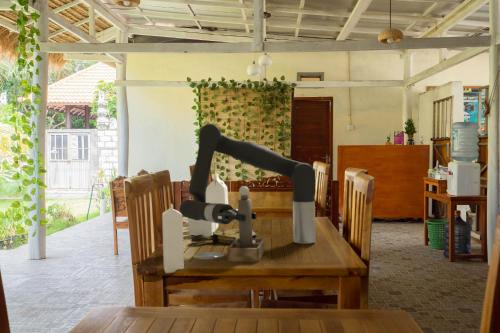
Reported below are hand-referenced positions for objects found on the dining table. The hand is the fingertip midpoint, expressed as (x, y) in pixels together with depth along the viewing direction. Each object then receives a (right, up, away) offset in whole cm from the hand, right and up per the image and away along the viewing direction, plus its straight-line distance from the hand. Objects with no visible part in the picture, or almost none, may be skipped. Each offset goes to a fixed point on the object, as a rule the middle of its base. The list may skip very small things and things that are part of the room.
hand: (250, 217), depth 161 cm
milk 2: (-18, -13, +99) cm, 101 cm away
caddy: (-1, -16, +7) cm, 17 cm away
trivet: (-15, -16, +8) cm, 23 cm away
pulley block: (-10, -15, +37) cm, 42 cm away
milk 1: (-25, -17, -8) cm, 32 cm away
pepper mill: (-1, -11, +2) cm, 11 cm away
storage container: (-23, -14, +66) cm, 71 cm away
